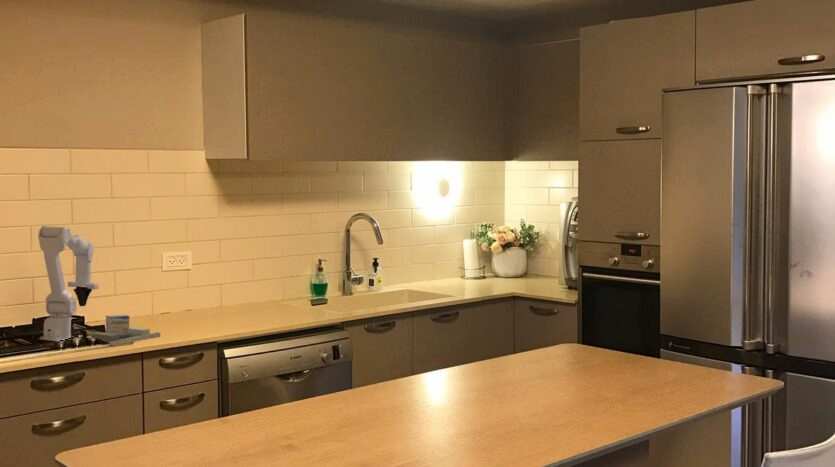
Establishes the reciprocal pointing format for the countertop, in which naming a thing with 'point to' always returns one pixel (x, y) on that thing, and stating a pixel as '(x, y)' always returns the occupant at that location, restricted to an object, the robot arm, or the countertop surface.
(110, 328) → the medicine box
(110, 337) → the mounted modules
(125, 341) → the din rail
